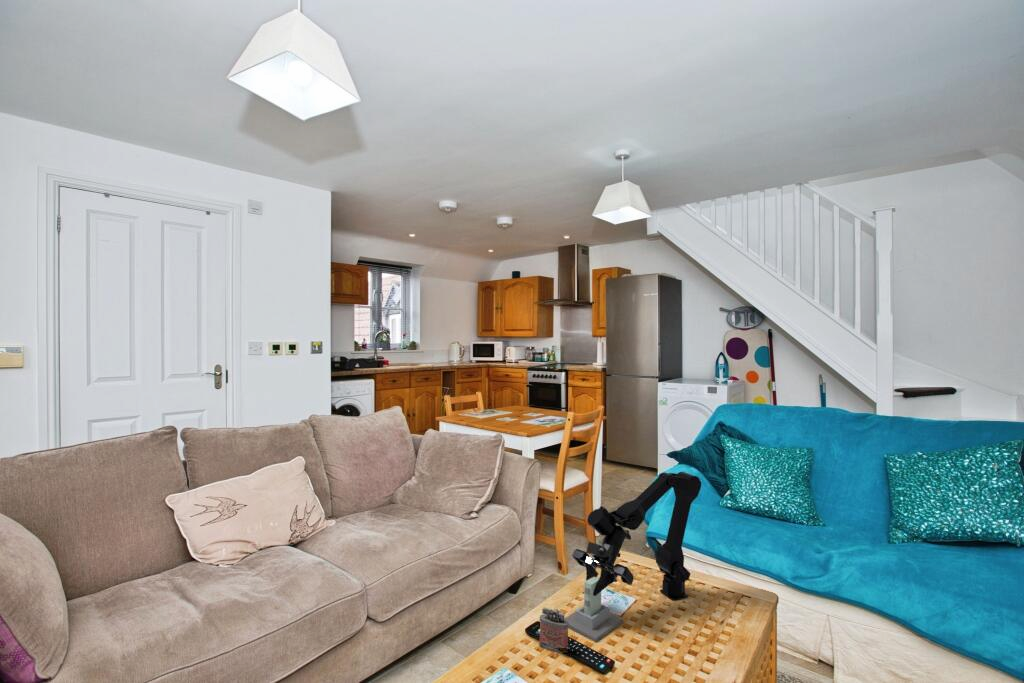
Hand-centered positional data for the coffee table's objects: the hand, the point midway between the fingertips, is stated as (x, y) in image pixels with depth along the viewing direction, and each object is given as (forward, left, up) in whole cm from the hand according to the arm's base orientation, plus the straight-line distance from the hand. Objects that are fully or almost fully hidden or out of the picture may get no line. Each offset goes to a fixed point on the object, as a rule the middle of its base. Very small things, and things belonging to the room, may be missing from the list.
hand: (590, 593), depth 142 cm
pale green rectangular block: (-1, -1, -7) cm, 7 cm away
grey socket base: (-1, -1, -9) cm, 9 cm away
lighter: (+15, +5, -9) cm, 18 cm away
